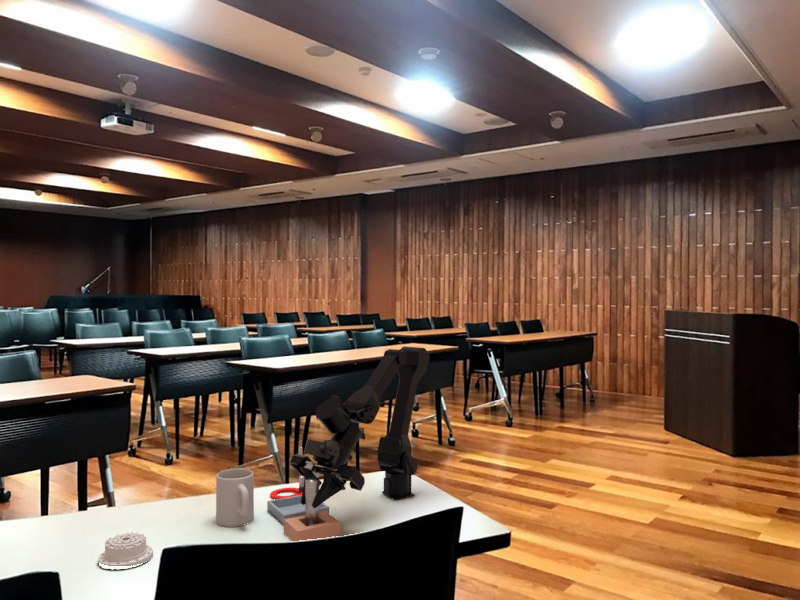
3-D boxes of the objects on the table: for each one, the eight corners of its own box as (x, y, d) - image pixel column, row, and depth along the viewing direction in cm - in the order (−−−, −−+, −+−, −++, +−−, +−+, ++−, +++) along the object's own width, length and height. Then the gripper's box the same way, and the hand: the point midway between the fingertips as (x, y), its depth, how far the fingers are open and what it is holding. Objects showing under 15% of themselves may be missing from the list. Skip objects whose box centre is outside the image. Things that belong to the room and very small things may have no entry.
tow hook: (266, 502, 161) (302, 501, 161) (264, 452, 161) (300, 451, 160) (274, 492, 169) (309, 491, 169) (272, 443, 169) (307, 443, 169)
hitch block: (325, 524, 145) (325, 511, 145) (340, 536, 139) (340, 522, 138) (283, 532, 140) (283, 519, 140) (297, 545, 133) (297, 531, 133)
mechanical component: (159, 549, 131) (109, 551, 131) (159, 528, 131) (109, 529, 131) (143, 571, 121) (89, 572, 121) (143, 548, 121) (89, 549, 121)
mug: (211, 518, 149) (211, 471, 148) (246, 511, 153) (246, 466, 153) (227, 535, 139) (227, 485, 138) (264, 527, 143) (265, 479, 143)
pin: (315, 529, 141) (315, 476, 141) (321, 534, 139) (321, 480, 139) (303, 532, 140) (303, 478, 140) (308, 537, 137) (308, 482, 137)
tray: (310, 503, 159) (310, 493, 159) (329, 517, 150) (329, 507, 150) (267, 511, 153) (267, 501, 153) (284, 526, 144) (284, 515, 144)
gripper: (294, 419, 147) (258, 478, 139) (356, 430, 137) (321, 495, 128) (318, 446, 154) (284, 503, 145) (378, 458, 143) (346, 522, 134)
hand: (307, 505), depth 138 cm, fingers closed on pin, 3 cm apart
